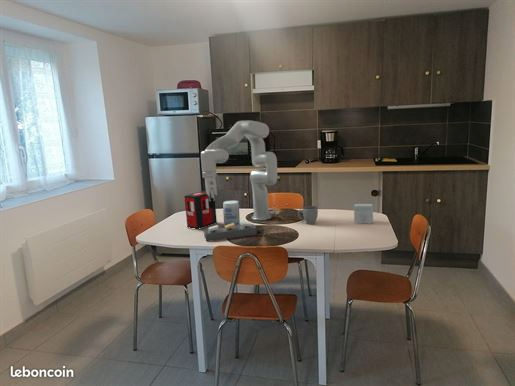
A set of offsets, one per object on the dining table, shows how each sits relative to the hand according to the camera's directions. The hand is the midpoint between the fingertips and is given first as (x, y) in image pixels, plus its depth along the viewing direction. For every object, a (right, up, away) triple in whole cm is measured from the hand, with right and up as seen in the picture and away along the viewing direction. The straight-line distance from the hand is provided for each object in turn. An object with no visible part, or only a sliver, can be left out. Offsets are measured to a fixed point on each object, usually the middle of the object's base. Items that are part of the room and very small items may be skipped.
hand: (212, 207), depth 207 cm
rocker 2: (+18, -10, +7) cm, 22 cm away
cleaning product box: (-10, -12, +30) cm, 34 cm away
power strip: (+12, -16, +6) cm, 21 cm away
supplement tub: (+9, -12, +26) cm, 30 cm away
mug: (+55, -10, +22) cm, 60 cm away
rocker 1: (+1, -12, +2) cm, 12 cm away
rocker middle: (+9, -11, +5) cm, 15 cm away
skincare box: (+87, -9, +18) cm, 89 cm away
